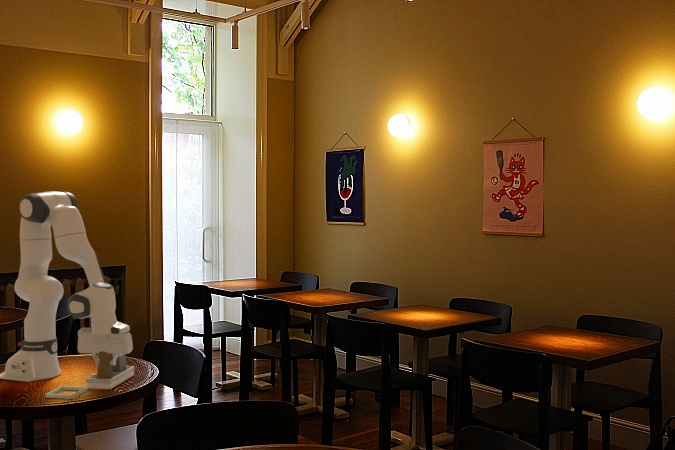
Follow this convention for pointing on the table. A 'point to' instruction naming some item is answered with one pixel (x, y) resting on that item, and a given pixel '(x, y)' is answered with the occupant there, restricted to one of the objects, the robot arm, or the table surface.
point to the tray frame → (53, 395)
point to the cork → (104, 366)
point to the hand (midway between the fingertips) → (105, 365)
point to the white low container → (109, 383)
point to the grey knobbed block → (119, 363)
